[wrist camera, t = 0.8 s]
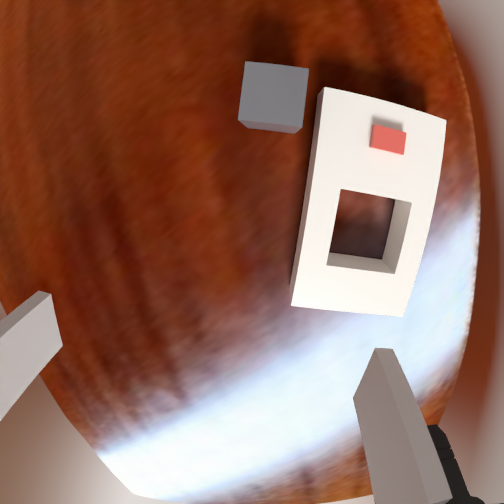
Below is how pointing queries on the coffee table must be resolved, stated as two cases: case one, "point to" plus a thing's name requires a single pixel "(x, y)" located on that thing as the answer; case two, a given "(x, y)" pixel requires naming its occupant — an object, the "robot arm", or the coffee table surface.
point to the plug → (273, 97)
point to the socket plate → (372, 182)
